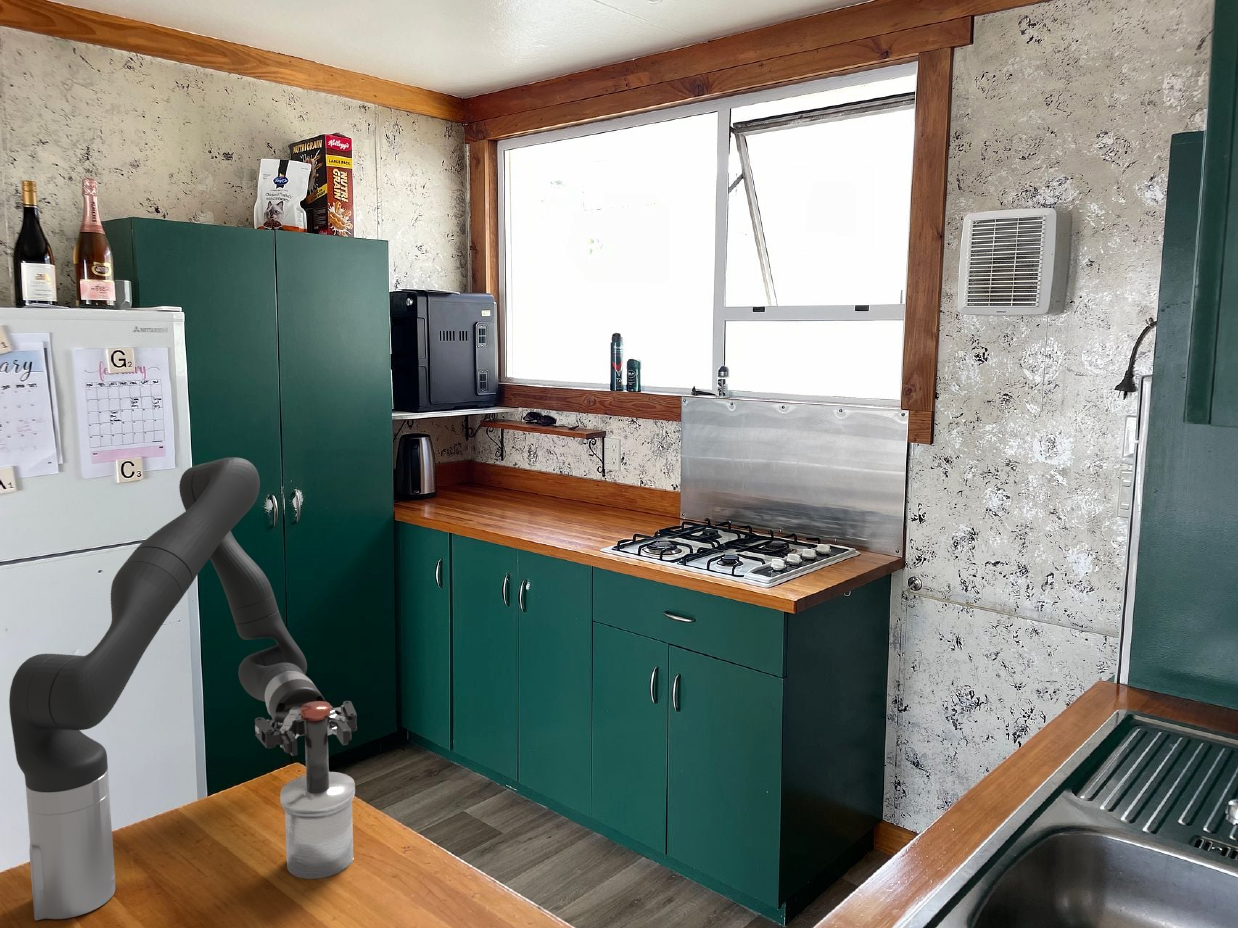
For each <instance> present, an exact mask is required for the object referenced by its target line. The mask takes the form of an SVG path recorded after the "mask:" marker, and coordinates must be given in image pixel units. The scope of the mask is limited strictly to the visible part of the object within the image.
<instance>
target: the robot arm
mask: <svg viewBox="0 0 1238 928" xmlns="http://www.w3.org/2000/svg"><path fill="white" fill-rule="evenodd" d="M260 481H261V479H260V475H259V472H258V470H257V468H256V467H255V465H254V464H253V463H252V462H250V460H247V459H245V458H242V457H236V456H235V457H234V456H233V457H224V458H219V459H216V460H213V461H208V462H205V463H200V464H197V465H194V466H191V467H189V468H187V469H186V470H185V471H184V472H183V474H182V475H181V478H180V481H179V486H178V488H179V489H178V490H179V495H180V496H179V497H180V498H181V499H180V500H181V502H182V505H183V508H184V509H185V511H184V512H183V513H181V514H180V515H178V516H177V517H175V518H174V519H173V520H171V521H170V522H168V523H166V524H165V525H163V526H162V527H161V528H159V529H158V530H156V531H155V532H153V533H152V534H151V535H150V536H149V537H147V538H146V539H145V540H144V541H142V543H140V544H139V546H137V548H135V550H134V551H133V552H132V553H131V555H130V556H129V557H128V558H127V559H126V561H125V562H124V563H123V565H121V567H120V569H118V571H117V573H116V574H115V576H114V578H113V580H112V583H111V586H110V587H111V588H110V609H111V610H110V611H111V622H110V625H109V627H108V630H107V631H106V633H105V634H104V636H103V637H102V638H101V640H100V641H99V642H98V643H97V645H96V646H95V647H94V648H93V650H91V651H90V652H89V653H87V654H86V655H78V654H77V655H76V654H75V655H74V654H60V653H38V654H36V655H33V656H31V657H29V658H27V659H26V660H25V661H24V662H23V663H22V664H21V665H20V666H19V667H18V669H17V670H16V672H15V674H14V676H13V678H12V681H11V685H10V689H9V699H8V700H9V702H8V703H9V707H8V708H9V715H10V724H11V730H12V736H13V737H12V738H13V745H14V752H15V757H16V762H17V765H18V767H19V768H20V770H21V772H22V773H23V774H24V782H25V792H26V793H25V794H26V795H25V796H26V806H27V808H26V809H27V821H28V832H29V835H28V837H29V865H30V875H31V876H30V877H31V888H32V889H31V890H32V891H31V892H32V903H33V914H34V915H33V916H34V921H40V920H45V919H48V920H50V919H51V920H63V919H70V918H75V917H79V916H81V915H84V914H88V913H90V912H92V911H94V910H97V909H98V908H100V907H101V906H103V905H105V904H106V903H107V902H108V901H110V899H112V897H113V896H114V894H115V892H116V871H115V860H114V859H115V857H114V856H115V855H114V844H113V828H112V826H113V825H112V814H111V813H112V812H111V800H110V799H111V798H110V795H111V794H110V782H109V781H110V779H109V764H108V754H107V753H108V752H107V749H106V748H105V747H104V746H103V744H101V743H100V742H98V741H97V740H94V739H93V738H91V737H89V736H87V735H86V734H84V733H83V732H82V731H84V730H86V731H87V730H89V729H92V728H93V727H96V726H97V725H99V724H100V723H101V722H102V721H103V720H104V719H105V718H106V717H107V716H108V715H109V713H110V712H111V711H112V709H113V708H114V707H115V705H116V704H117V702H118V700H119V698H120V696H121V695H122V693H123V691H124V690H125V688H126V686H127V685H128V683H129V680H130V678H131V676H132V675H133V673H134V671H135V670H136V667H137V666H138V664H139V663H140V661H141V659H142V657H143V655H144V653H145V652H146V651H147V649H148V647H149V645H150V644H151V642H152V641H153V640H154V637H156V634H157V633H158V632H159V630H160V628H161V627H162V626H163V624H164V622H165V621H166V620H167V619H168V617H169V616H170V614H171V612H173V611H174V609H175V608H176V607H177V605H178V604H179V603H180V602H181V600H182V599H183V597H184V595H185V594H186V593H187V591H188V590H189V588H190V587H191V586H192V584H193V583H194V581H195V579H196V578H197V576H198V574H199V573H200V572H201V570H202V569H203V567H204V566H205V565H206V564H207V562H208V561H209V560H210V562H211V565H213V566H212V567H214V569H215V571H216V573H217V576H218V578H219V580H220V583H221V585H222V588H223V591H224V593H225V596H226V600H227V603H228V606H229V608H230V612H231V615H232V618H233V621H234V625H235V627H236V631H237V633H238V636H239V637H240V638H241V639H242V640H245V641H249V640H250V641H252V640H258V639H272V640H273V641H275V643H276V645H274V646H271V647H267V648H266V649H265V648H264V649H262V650H260V651H257V652H254V653H251V654H249V655H247V656H246V657H245V658H243V660H242V661H241V663H240V664H239V666H238V679H239V682H240V684H241V687H243V689H244V690H245V692H246V693H247V694H249V695H250V696H251V697H253V698H254V699H256V700H258V701H262V702H265V706H266V709H267V713H268V714H269V716H270V717H271V718H272V719H269V718H267V719H266V718H264V717H263V716H262V717H261V716H259V717H256V718H254V729H255V730H254V731H255V737H256V738H257V739H258V740H259V741H260V743H261V744H262V745H263V746H264V747H265V749H268V750H269V749H274V748H276V746H277V745H278V746H279V745H280V748H282V750H283V751H284V753H286V754H290V756H292V757H294V756H298V740H297V738H298V737H302V736H305V722H304V720H303V719H301V716H300V707H301V706H302V705H304V704H306V703H309V702H315V701H324V702H327V701H326V700H325V697H324V695H322V693H321V692H320V691H319V689H318V688H317V686H316V685H315V684H314V683H313V681H312V680H311V679H310V677H308V676H307V675H306V673H307V669H308V662H307V659H306V657H305V655H304V652H303V651H302V649H300V647H299V646H298V644H297V643H296V642H295V640H294V639H293V637H292V636H291V634H290V632H289V631H288V629H287V627H286V625H285V623H284V621H283V619H282V615H281V613H280V610H279V607H278V604H277V600H276V597H275V594H274V590H273V588H272V586H271V583H270V581H269V579H268V577H267V575H266V574H265V573H264V571H263V570H262V568H260V567H259V565H258V564H257V563H256V562H255V561H254V560H253V559H252V558H251V557H250V556H249V555H248V554H247V552H245V550H244V549H243V547H242V546H241V545H240V544H239V543H238V542H237V540H236V539H235V536H234V535H233V533H232V529H233V528H234V527H235V526H236V525H237V524H238V523H239V522H240V521H241V520H242V519H243V517H244V516H245V515H247V513H248V512H249V511H250V509H252V507H253V506H254V505H255V502H256V501H257V500H258V499H257V498H258V496H259V493H260V487H261V485H260V484H261V482H260ZM330 707H331V714H330V716H329V717H327V732H328V736H331V735H335V736H336V738H337V739H338V740H339V742H340V743H341V745H342V746H346V745H349V741H352V733H353V732H357V730H358V726H357V712H356V709H355V707H354V705H353V703H352V701H351V700H344V701H343V703H342V705H340V706H339V707H333V705H331V704H330ZM275 730H276V731H275Z"/></svg>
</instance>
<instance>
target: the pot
mask: <svg viewBox="0 0 1238 928" xmlns="http://www.w3.org/2000/svg"><path fill="white" fill-rule="evenodd" d="M353 801H354V798H353V799H352V800H351V801H350V802H348V803H347V804H345V805H344V806H342V807H340V808H337V809H335V810H332V811H328V812H324V813H318V814H297V813H293V812H290V811H287V810H286V809H284V808H283V810H284V814H285V815H284V817H285V818H284V819H285V820H284V821H285V822H284V823H285V840H286V841H285V844H286V845H285V846H286V848H285V849H286V868H287V871H288V872H289V874H291V875H292V876H294V877H297V878H299V879H304V880H305V879H306V880H314V879H316V880H317V879H323V878H328V877H332V876H334V875H336V874H339V873H341V872H342V871H344V870H346V869H347V868H348V867H349V866H350V865H351V864H352V862H353V860H354V830H353V827H354V826H353V825H354V824H353Z"/></svg>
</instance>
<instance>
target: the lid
mask: <svg viewBox="0 0 1238 928" xmlns="http://www.w3.org/2000/svg"><path fill="white" fill-rule="evenodd" d="M330 705H331V704H330V703H329V702H328V701H326V702H324V701H315V702H309V703H306V704H304V705H302V706H301V707H300V716H301V719H303V720H304V722H305V735H304V743H305V745H304V748H305V749H304V751H305V774H304V775H301V776H299V777H296V778H294V779H292V780H290V781H288V782H287V783H285V784H284V786H283V787H281V789H280V792H279V794H280V796H279V797H280V805H281V806H282V808H283V810H284V809H286V810H287V811H290V812H293V813H297V814H318V813H324V812H328V811H332V810H335V809H337V808H340V807H342V806H344V805H345V804H347V803H348V802H350V801H351V800H352V799H353V800H354V797H355V795H356V783H355V782H356V781H355V779H353V778H352V777H351V776H349V775H348V774H346V773H343V772H342V773H341V772H336V771H330V769H329V741H328V740H329V738H328V736H329V735H328V732H327V717H329V716H330V714H331V707H330Z"/></svg>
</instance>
